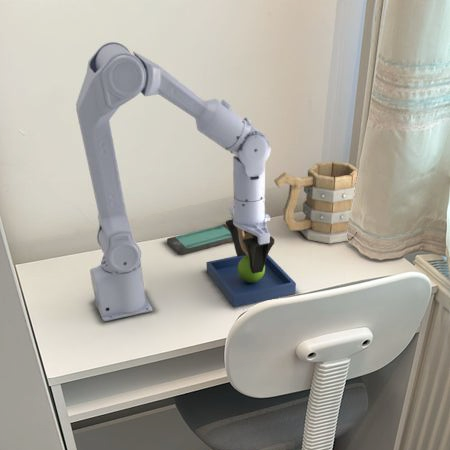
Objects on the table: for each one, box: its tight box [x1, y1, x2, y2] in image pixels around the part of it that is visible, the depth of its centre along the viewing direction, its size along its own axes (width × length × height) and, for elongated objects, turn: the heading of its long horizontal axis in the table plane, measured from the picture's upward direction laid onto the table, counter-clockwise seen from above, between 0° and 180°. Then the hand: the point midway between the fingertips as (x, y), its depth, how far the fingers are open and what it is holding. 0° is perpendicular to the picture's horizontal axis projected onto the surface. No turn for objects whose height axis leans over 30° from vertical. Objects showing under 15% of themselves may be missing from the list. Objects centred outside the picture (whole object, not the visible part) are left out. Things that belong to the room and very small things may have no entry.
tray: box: [205, 254, 297, 308], centre depth 127 cm, size 15×13×2 cm
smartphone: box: [166, 223, 233, 256], centre depth 142 cm, size 7×1×15 cm
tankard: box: [274, 160, 359, 245], centre depth 139 cm, size 20×13×15 cm, turn 108°
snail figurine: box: [237, 227, 265, 283], centre depth 124 cm, size 5×6×12 cm
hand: (249, 263), depth 125 cm, fingers open, 7 cm apart
